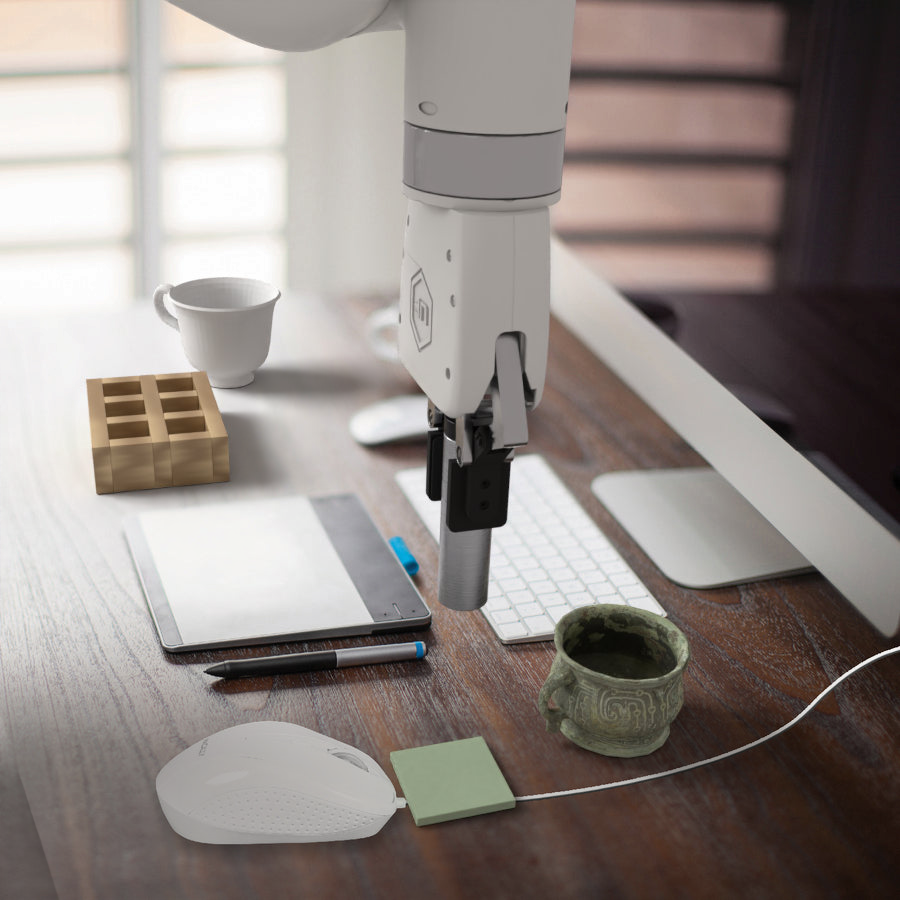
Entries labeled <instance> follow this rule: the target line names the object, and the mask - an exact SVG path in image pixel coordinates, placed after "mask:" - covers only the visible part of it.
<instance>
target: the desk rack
mask: <svg viewBox="0 0 900 900" xmlns="http://www.w3.org/2000/svg"><path fill="white" fill-rule="evenodd" d="M85 380H86V381H85V384H86V396H87V408H88V419H89V430H90V432H89V433H90V444H91V453H92V454H91V455H92V465H93V473H94V485H95V494H96V495H101V494H111V493H122V492H131V491H141V490H152V489H162V488H172V487H173V488H174V487H184V486H194V485H204V484H213V483H222V482H230V481H231V470H230V447H229V446H230V445H229V443H230V442H229V435H228V432H227V428H226V426H225V423H224V420H223V417H222V414H221V412H220V407H219V405H218V402H217V400H216V397H215V394H214V391H213V387H212V386H211V385H210V382H209V379H208V376H207V374H206V371H198V370H197V371H188V372H186V371H185V372H171V373H157V374H156V373H155V374H141V375H129V376H128V375H126V376H116V377H114V376H113V377H99V378H86V379H85Z"/></svg>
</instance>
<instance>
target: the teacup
mask: <svg viewBox="0 0 900 900" xmlns="http://www.w3.org/2000/svg"><path fill="white" fill-rule="evenodd" d="M164 294H165V295H166V298H167V300H168V301H169V303H171V304H172V306H173V307H174V310H175V314H176V317H175V316H173V315H172V314H171V312H169V311H168V309H167V308H166V305H165V302H164ZM281 297H282V292H281V291H280V290H279V289H278V288H277V287H276V286H274V285H273V284H271V283H268V282H266V281H263V280H259V279H254V278H247V277H232V276H226V277H224V276H223V277H222V276H221V277H217V276H216V277H206V278H198V279H194V280H189V281H185V282H181V283H180V284H177V285H173V284H170V283H162V284H160V285H159V286H157V287H156V288H155V290H154V292H153V295H152V305H153V308H154V311H155V313H156V315H157V317H158V318H159V319H160V320H161V321H162V322H163V323H165V324H166V325H167V326H169V327H171V328H172V329H174V330H176V331H177V332H178V333H179V334H180V339H181V345H182V349H183V352H184V356H185V358H186V360H187V362H188V363H189V364H190V365H191V367H192V368H194V369H196V371H197V372H198V371H206V374H207V376H208V379H209V382H210V385H211V388H217V389H235V388H240V387H245V386H248V385H249V384H251V383H252V382H254V379H255V375H254V371H255V370H258V369H259V368H260V367H261V366H262V365H263V364H265V362H266V361H267V358H268V356H269V353H270V346H271V339H272V329H273V318H274V312H275V307H276V304H277V302H278V301H279V300H280V299H281Z"/></svg>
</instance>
